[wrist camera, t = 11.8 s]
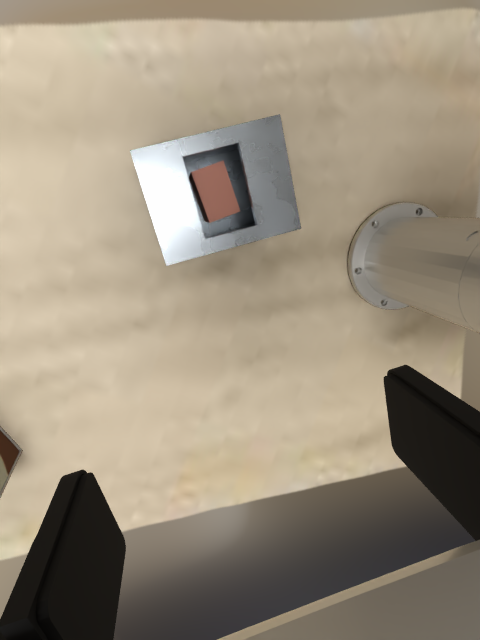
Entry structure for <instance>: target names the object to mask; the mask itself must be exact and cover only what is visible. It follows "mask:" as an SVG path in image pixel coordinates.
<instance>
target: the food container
mask: <svg viewBox="0 0 480 640" xmlns="http://www.w3.org/2000/svg"><path fill="white" fill-rule="evenodd" d="M22 451H23V450H22V449H21V448H20V447H19V446H18V445H17V444H16V442H15V441H14V440H13V439H12V438H11V437H10V436H9V435H8V434H7V433H6V432H5V431H4V430H3V428H2V427H1V426H0V498H1V495H2V493H3V491H4V489H5V487H6V485H7V483H8V480H9V478H10V476H11V474H12V472H13V470H14V468H15V466H16V463H17V461H18V459H19V457H20V455H21V453H22Z"/></svg>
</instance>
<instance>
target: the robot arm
mask: <svg viewBox="0 0 480 640" xmlns="http://www.w3.org/2000/svg"><path fill="white" fill-rule="evenodd" d="M372 223H373V225H372ZM355 269H356V271H355ZM348 271H349V276H350V280H351V283H352V285H353V287H354V289H355V291H356V292H357V293H358V294H359V296H360V297H361V298H362V299H364V300H365V301H366V302H368V303H370V304H372V305H374V306H376V307H379V308H381V309H389V310H395V309H402V308H405V307H409V306H411V307H414V308H416V309H419V310H421V311H424V312H426V313H429V314H431V315H434V316H436V317H439V318H441V319H444V320H447V321H449V322H452V323H454V324H457V325H459V326H462V327H464V328H467V329H469V330H472V331H475V332H477V333H480V218H453V217H438V216H437V215H436V214H435V213H434V212H433V211H432V210H430V209H429V208H427V207H425V206H423V205H420V204H416V203H395V204H392V205H388V206H385V207H383V208H381V209H379V210H377V211H376V212H375V213H374V214H372V215H371V216H370V217H368V219H367V220H366V221H365V222H364V223H363V224H362V225H361V227H360V228H359V230H358V231H357V233H356V234H355V237H354V239H353V241H352V243H351V247H350V251H349V256H348ZM384 387H385V395H386V403H387V411H388V419H389V427H390V435H391V442H392V447H393V449H394V451H395V453H396V455H397V456H398V457H399V458H400V459H401V460H402V461H403V462H404V463H405V465H406V466H407V467H408V468H409V469H410V470H411V471H412V472H413V473H414V474H415V475H416V476H417V478H418V479H419V480H420V481H421V482H422V483H423V484H424V485H425V486H426V487H427V488H428V489H429V490H430V492H431V493H432V494H433V495H434V496H435V497H436V498H437V499H438V500H439V501H440V502H441V503H442V505H443V506H444V507H445V508H446V509H447V510H448V511H449V512H450V513H451V514H452V515H453V516H454V517H455V519H456V520H457V521H458V522H459V523H460V524H461V525H462V526H463V527H464V528H465V529H466V530H467V532H469V534H470V535H471V536H472V537H473V538H474V539H475V540H476V541H475V542H472V543H469V544H466V545H464V546H461V547H458V548H455V549H453V550H450V551H447V552H445V553H442V554H439V555H437V556H434V557H431V558H429V559H426V560H423V561H421V562H418V563H415V564H413V565H410V566H408V567H405V568H402V569H400V570H397V571H394V572H392V573H389V574H387V575H384V576H381V577H378V578H376V579H373V580H371V581H368V582H365V583H363V584H360V585H358V586H355V587H352V588H350V589H347V590H344V591H342V592H339V593H336V594H334V595H331V596H329V597H326V598H323V599H321V600H318V601H316V602H313V603H311V604H308V605H305V606H303V607H300V608H298V609H295V610H292V611H290V612H287V613H285V614H282V615H280V616H277V617H274V618H271V619H269V620H266V621H264V622H261V623H259V624H256V625H253V626H251V627H248V628H246V629H243V630H241V631H238V632H235V633H233V634H231V635H228V636H225V637H223V638H220V639H218V640H480V412H479V411H478V410H476V409H475V408H473V407H471V406H470V405H468V404H467V403H465V402H464V401H462V400H461V399H459V398H458V397H456V396H454V395H453V394H451V393H450V392H448V391H447V390H445V389H444V388H442V387H441V386H439V385H438V384H436V383H434V382H433V381H431V380H430V379H428V378H427V377H425V376H424V375H422V374H421V373H419V372H418V371H416V370H414V369H413V368H411V367H410V366H408V365H403V366H400V367H397V368H394V369H391V370H389V371H388V373H387V376H385V377H384ZM125 551H126V545H125V540H124V537H123V535H122V532H121V530H120V528H119V526H118V524H117V522H116V520H115V518H114V516H113V514H112V512H111V510H110V508H109V505H108V503H107V501H106V499H105V497H104V495H103V493H102V491H101V489H100V487H99V485H98V483H97V481H96V479H95V476H94V475H93V473H87V472H86V471H85V470H80V471H77V472H74V473H71V474H68V475H65V476H63V477H62V478H61V479H60V482H59V484H58V486H57V489H56V491H55V494H54V496H53V498H52V501H51V503H50V505H49V508H48V510H47V513H46V515H45V517H44V520H43V522H42V524H41V527H40V529H39V532H38V534H37V536H36V538H35V540H34V542H33V544H32V546H31V548H30V551H29V553H28V555H27V558H26V560H25V563H24V565H23V567H22V569H21V572H20V574H19V577H18V579H17V581H16V584H15V586H14V588H13V591H12V593H11V595H10V598H9V600H8V603H7V605H6V607H5V610H4V612H3V615H2V617H1V619H0V640H113V638H114V630H115V623H116V616H117V609H118V601H119V595H120V588H121V580H122V573H123V566H124V559H125Z"/></svg>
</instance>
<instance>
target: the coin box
mask: <svg viewBox="0 0 480 640" xmlns="http://www.w3.org/2000/svg"><path fill="white" fill-rule="evenodd" d="M130 152H131V156H132V159H133V162H134V165H135V168H136V171H137V174H138V178H139V181H140V184H141V187H142V190H143V193H144V197H145V200H146V203H147V206H148V209H149V212H150V215H151V219H152V222H153V225H154V228H155V231H156V234H157V237H158V241H159V244H160V247H161V250H162V253H163V256H164V259H165V263H166V266H167V265H171V264H175V263H178V262H182V261H185V260H189V259H193V258H196V257H200V256H204V255H207V254H211V253H214V252H218V251H222V250H225V249H229V248H233V247H236V246H240V245H243V244H247V243H251V242H254V241H258V240H262V239H265V238H269V237H272V236H276V235H280V234H283V233H287V232H291V231H294V230H298V229H301V226H300V220H299V215H298V209H297V204H296V198H295V193H294V188H293V182H292V177H291V171H290V166H289V160H288V155H287V150H286V144H285V139H284V133H283V128H282V122H281V117H280V114H279V115H275V116H271V117H267V118H263V119H258V120H254V121H250V122H246V123H242V124H238V125H234V126H229V127H225V128H221V129H217V130H213V131H209V132H205V133H201V134H196V135H192V136H188V137H184V138H180V139H176V140H172V141H167V142H163V143H159V144H155V145H151V146H147V147H143V148H138V149H134V150H130ZM220 161H224V164H225V167H226V170H227V173H228V176H229V179H230V182H231V185H232V188H233V191H234V194H235V197H236V199H237V202H238V205H239V208H240V212H237V213H235V214H232V215H230V216H227V217H224V218H222V219H219V220H216V221H214V222H211V223H208V222H205V221H204V219H203V216H202V213H201V210H200V208H199V205H198V202H197V200H196V197H195V194H194V192H193V189H192V186H191V184H190V181H189V176H190V173H191V172H193V171H196V170H198V169H201V168H204V167H206V166H209V165H212V164H215V163H217V162H220Z"/></svg>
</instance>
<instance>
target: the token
mask: <svg viewBox="0 0 480 640" xmlns="http://www.w3.org/2000/svg"><path fill="white" fill-rule="evenodd" d="M189 181H190V184H191V186H192V189H193V192H194V194H195V197H196V200H197V202H198V205H199V208H200V210H201V213H202V216H203V219H204V221H205V222H208V223H211V222H214V221H216V220H219V219H222V218H224V217H227V216H230V215H232V214H235V213H237V212H240V208H239V205H238V202H237V199H236V197H235V194H234V191H233V188H232V185H231V182H230V179H229V176H228V173H227V170H226V167H225V164H224V161H220V162H217V163H215V164H212V165H209V166H206V167H204V168H201V169H198V170H196V171H193V172H191V173H190V176H189Z"/></svg>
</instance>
